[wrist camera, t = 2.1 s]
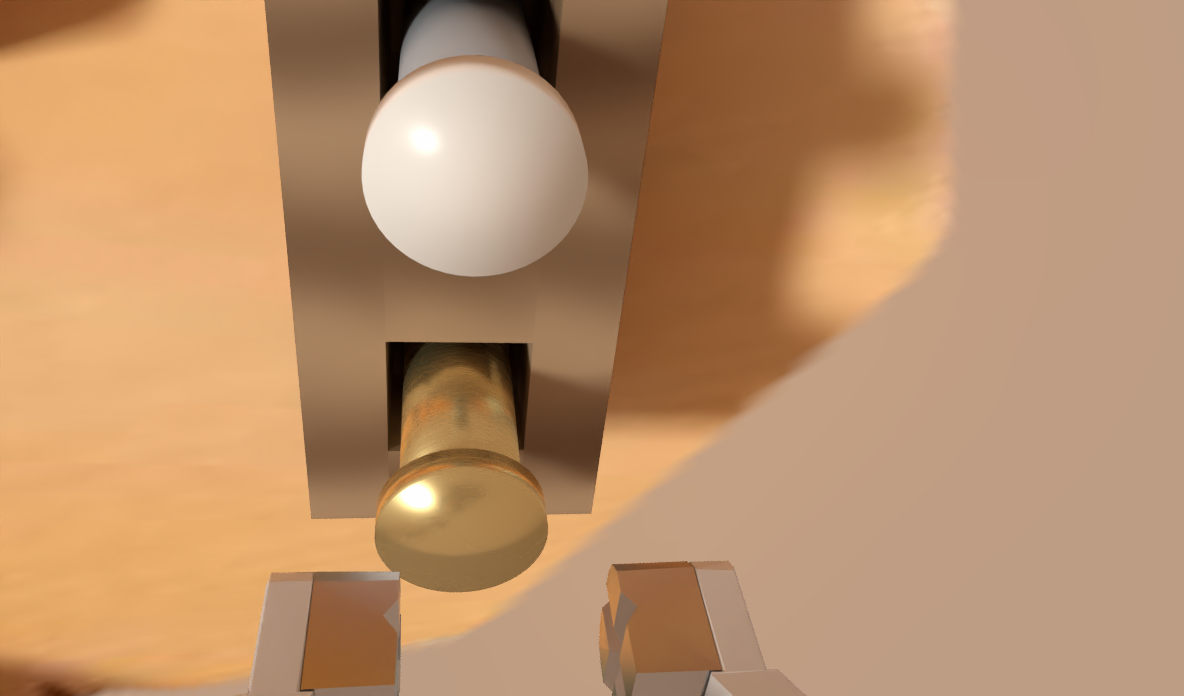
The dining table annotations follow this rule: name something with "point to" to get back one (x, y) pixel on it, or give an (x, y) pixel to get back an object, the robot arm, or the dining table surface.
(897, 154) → the dining table surface
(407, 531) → the brass plug
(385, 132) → the white plug
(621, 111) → the socket block
